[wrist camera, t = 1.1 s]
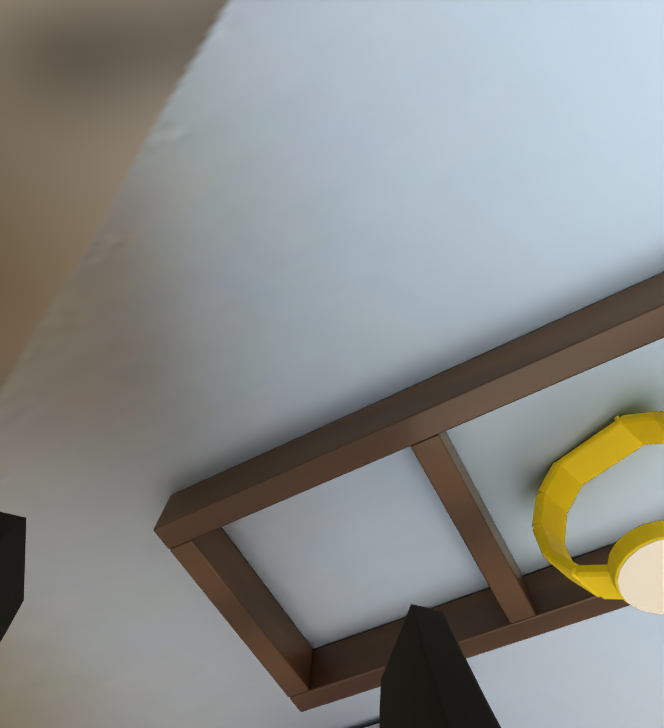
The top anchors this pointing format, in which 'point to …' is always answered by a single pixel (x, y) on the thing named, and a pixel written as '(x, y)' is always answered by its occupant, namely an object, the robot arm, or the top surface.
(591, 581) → the watch
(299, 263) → the top surface
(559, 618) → the holder
